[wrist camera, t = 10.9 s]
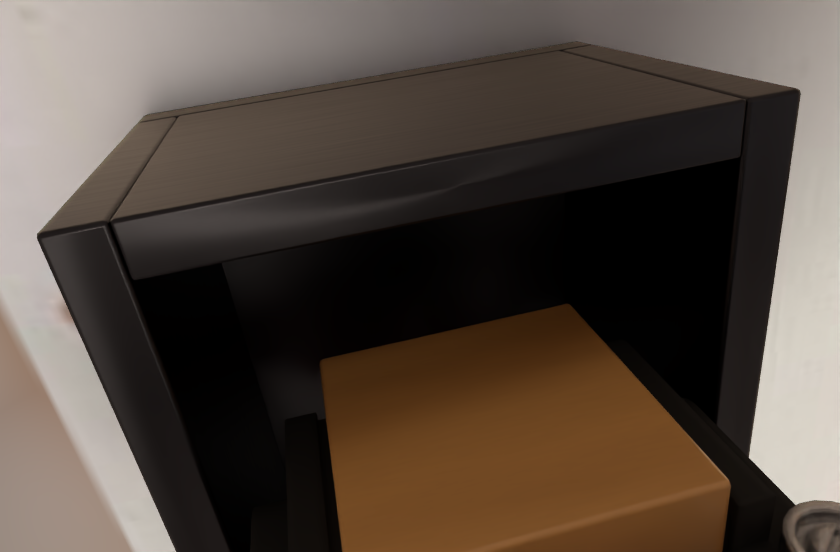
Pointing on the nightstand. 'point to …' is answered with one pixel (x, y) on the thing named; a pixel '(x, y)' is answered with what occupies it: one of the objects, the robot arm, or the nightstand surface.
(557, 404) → the block
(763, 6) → the nightstand surface
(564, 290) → the black storage box
